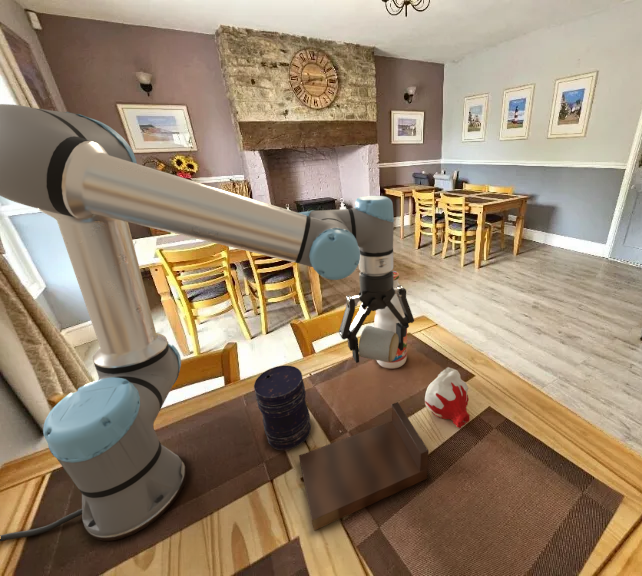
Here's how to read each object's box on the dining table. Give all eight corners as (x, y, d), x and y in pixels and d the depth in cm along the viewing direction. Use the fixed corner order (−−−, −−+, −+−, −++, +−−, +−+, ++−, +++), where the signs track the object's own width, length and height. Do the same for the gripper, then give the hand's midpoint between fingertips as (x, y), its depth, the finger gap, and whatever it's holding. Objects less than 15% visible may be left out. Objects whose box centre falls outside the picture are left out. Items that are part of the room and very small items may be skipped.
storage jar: (320, 422, 73) (312, 372, 67) (292, 457, 65) (280, 403, 59) (286, 409, 77) (276, 360, 71) (257, 440, 69) (242, 389, 63)
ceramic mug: (391, 369, 71) (391, 341, 68) (358, 363, 73) (357, 335, 70) (402, 344, 80) (403, 318, 77) (373, 339, 83) (372, 314, 80)
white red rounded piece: (449, 382, 83) (484, 429, 72) (411, 394, 80) (442, 446, 68) (454, 357, 79) (492, 404, 67) (414, 368, 75) (447, 420, 63)
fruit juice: (406, 350, 98) (407, 267, 86) (407, 369, 89) (408, 280, 78) (376, 349, 98) (373, 267, 87) (374, 369, 90) (370, 280, 78)
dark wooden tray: (314, 530, 52) (307, 501, 49) (300, 465, 63) (295, 437, 60) (427, 478, 60) (428, 450, 57) (398, 428, 71) (397, 401, 68)
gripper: (327, 286, 60) (336, 375, 69) (431, 267, 68) (427, 349, 77) (319, 273, 66) (328, 356, 75) (415, 257, 75) (413, 334, 84)
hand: (378, 353), depth 76 cm, fingers closed on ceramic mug, 11 cm apart
